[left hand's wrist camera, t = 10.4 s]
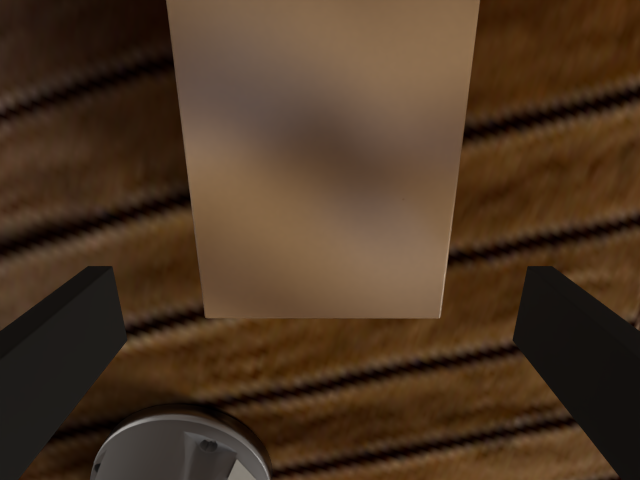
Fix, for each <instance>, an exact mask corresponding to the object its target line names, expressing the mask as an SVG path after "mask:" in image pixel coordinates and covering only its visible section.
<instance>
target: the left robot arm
mask: <svg viewBox="0 0 640 480" xmlns="http://www.w3.org/2000/svg"><path fill="white" fill-rule="evenodd" d="M126 341H127V336H126V331H125V326H124V321H123V316H122V311H121V306H120V302H119V297H118V292H117V287H116V282H115V277H114V272H113V267H112V266H88V267H86V268H85V269H84V270H82V271H81V272H80V273H78V274H77V275H76V276H74V277H73V278H71V279H70V280H69V281H67V282H66V283H65V284H63V285H62V286H61V287H59V288H58V289H57V290H55V291H54V292H53V293H51V294H50V295H49V296H47V297H46V298H44V299H43V300H42V301H40V302H39V303H38V304H36V305H35V306H34V307H32V308H31V309H30V310H28V311H27V312H26V313H24V314H23V315H22V316H20V317H19V318H18V319H16V320H15V321H13V322H12V323H11V324H9V325H8V326H7V327H5V328H4V329H3V330H1V331H0V480H18V479H19V478H20V477H21V475H22V474H23V473H24V471H25V470H26V469H27V468H28V466H29V465H30V464H31V462H32V461H33V460H34V459H35V457H36V456H37V455H38V454H39V452H40V451H41V450H42V448H43V447H44V446H45V445H46V443H47V442H48V441H49V440H50V438H51V437H52V436H53V434H54V433H55V432H56V431H57V429H58V428H59V427H60V425H61V424H62V423H63V422H64V420H65V419H66V418H67V417H68V415H69V414H70V413H71V411H72V410H73V409H74V408H75V406H76V405H77V404H78V403H79V401H80V400H81V399H82V397H83V396H84V395H85V394H86V392H87V391H88V390H89V388H90V387H91V386H92V385H93V383H94V382H95V381H96V380H97V378H98V377H99V376H100V374H101V373H102V372H103V371H104V369H105V368H106V367H107V366H108V364H109V363H110V362H111V360H112V359H113V358H114V357H115V355H116V354H117V353H118V351H119V350H120V349H121V348H122V346H123V345H124V344H125V343H126ZM513 341H514V343H515V344H516V345H517V346H518V348H519V349H520V350H521V351H522V353H523V354H524V355H525V357H526V358H527V359H528V360H529V362H530V363H531V364H532V366H533V367H534V368H535V369H536V371H537V372H538V373H539V374H540V376H541V377H542V378H543V380H544V381H545V382H546V383H547V385H548V386H549V387H550V388H551V390H552V391H553V392H554V394H555V395H556V396H557V397H558V399H559V400H560V401H561V403H562V404H563V405H564V406H565V408H566V409H567V410H568V411H569V413H570V414H571V415H572V417H573V418H574V419H575V420H576V422H577V423H578V424H579V425H580V427H581V428H582V429H583V431H584V432H585V433H586V434H587V436H588V437H589V438H590V440H591V441H592V442H593V443H594V445H595V446H596V447H597V448H598V450H599V451H600V452H601V454H602V455H603V456H604V457H605V459H606V460H607V461H608V462H609V464H610V465H611V466H612V468H613V469H614V470H615V471H616V473H617V474H618V475H619V477H620V478H621V479H622V480H640V331H639V330H637V329H636V328H635V327H633V326H632V325H631V324H629V323H628V322H627V321H625V320H624V319H622V318H621V317H620V316H618V315H617V314H616V313H614V312H613V311H612V310H610V309H609V308H608V307H606V306H605V305H604V304H602V303H601V302H600V301H598V300H597V299H596V298H594V297H593V296H591V295H590V294H589V293H587V292H586V291H585V290H583V289H582V288H581V287H579V286H578V285H577V284H575V283H574V282H573V281H571V280H570V279H569V278H567V277H566V276H564V275H563V274H562V273H560V272H559V271H558V270H556V269H555V268H554V267H552V266H528V267H527V272H526V277H525V282H524V287H523V292H522V297H521V302H520V306H519V311H518V316H517V321H516V326H515V331H514V336H513ZM272 472H273V471H272V464H271V460H270V457H269V455H268V452H267V450H266V448H265V447H264V445H263V444H262V442H261V441H260V440H259V439H258V437H257V436H256V435H255V434H254V433H253V432H252V431H251V430H250V429H248V428H247V427H246V426H245V425H243V424H242V423H240V422H239V421H237V420H235V419H233V418H232V417H230V416H228V415H225V414H223V413H221V412H218V411H215V410H212V409H209V408H205V407H200V406H195V405H187V404H167V405H159V406H154V407H150V408H146V409H143V410H141V411H138V412H136V413H134V414H132V415H130V416H128V417H127V418H125V419H124V420H122V421H121V422H120V423H119V424H118V425H117V426H116V427H115V428H114V429H113V430H112V431H111V433H110V434H109V436H108V437H107V439H106V441H105V442H104V444H103V445H102V447H101V449H100V450H99V452H98V454H97V456H96V458H95V461H94V465H93V468H92V472H91V476H90V480H272Z"/></svg>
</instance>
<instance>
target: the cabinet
mask: <svg viewBox="0 0 640 480" xmlns="http://www.w3.org/2000/svg"><path fill="white" fill-rule="evenodd" d="M166 2H167V10H168V19H169V27H170V35H171V43H172V51H173V59H174V68H175V76H176V84H177V92H178V100H179V108H180V117H181V125H182V133H183V141H184V149H185V157H186V165H187V174H188V182H189V190H190V198H191V206H192V214H193V223H194V231H195V239H196V247H197V255H198V263H199V271H200V280H201V288H202V296H203V304H204V312H205V317H206V318H440V317H441V310H442V302H443V293H444V285H445V277H446V269H447V261H448V253H449V245H450V237H451V229H452V221H453V213H454V205H455V197H456V189H457V181H458V173H459V165H460V157H461V148H462V140H463V132H464V124H465V116H466V108H467V100H468V92H469V84H470V76H471V68H472V60H473V52H474V44H475V36H476V28H477V20H478V12H479V3H480V0H166Z"/></svg>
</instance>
